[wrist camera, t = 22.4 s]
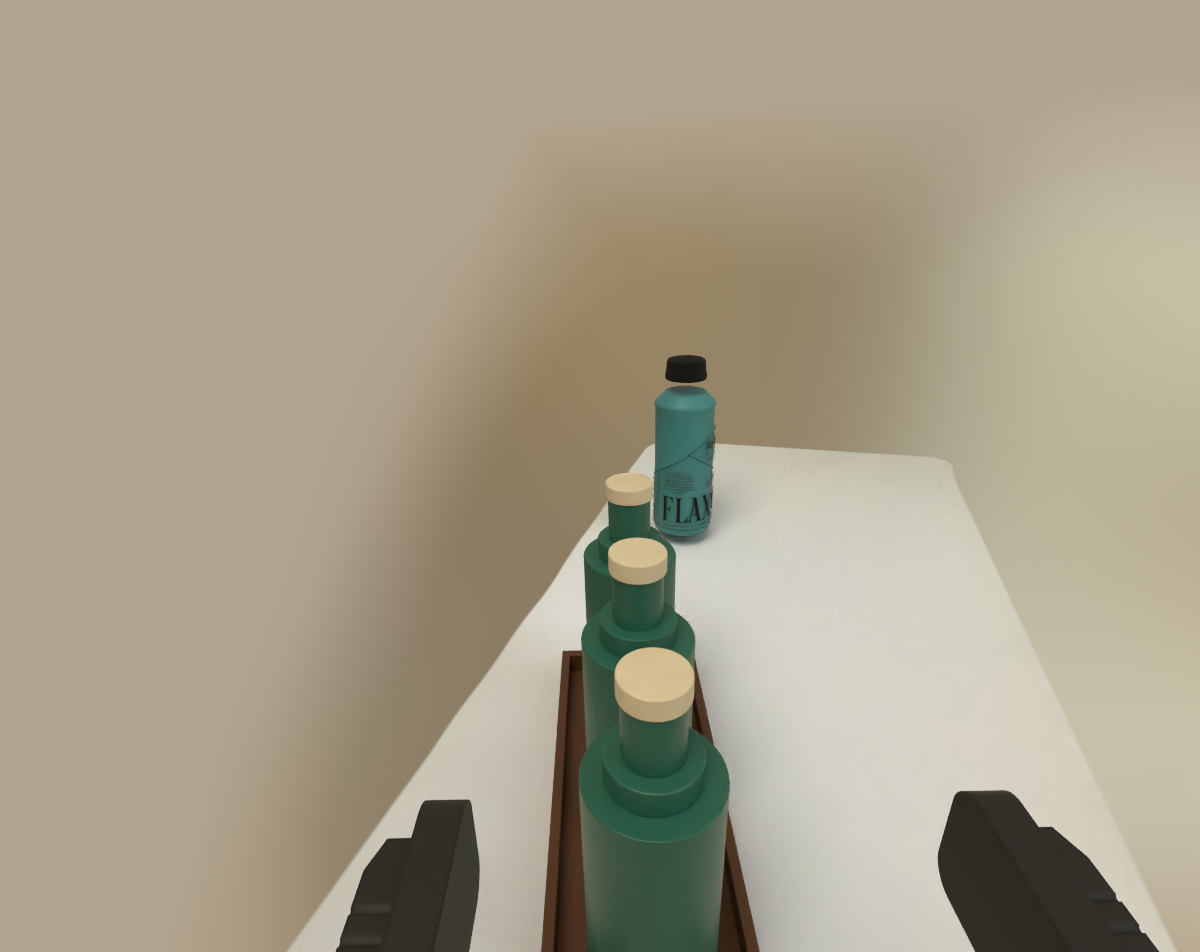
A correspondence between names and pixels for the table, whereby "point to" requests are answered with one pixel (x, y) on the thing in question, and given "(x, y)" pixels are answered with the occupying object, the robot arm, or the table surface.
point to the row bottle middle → (629, 627)
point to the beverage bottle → (684, 450)
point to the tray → (565, 855)
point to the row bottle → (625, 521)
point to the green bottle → (653, 816)
